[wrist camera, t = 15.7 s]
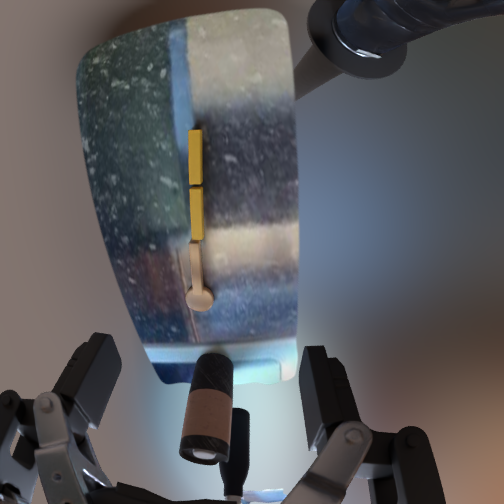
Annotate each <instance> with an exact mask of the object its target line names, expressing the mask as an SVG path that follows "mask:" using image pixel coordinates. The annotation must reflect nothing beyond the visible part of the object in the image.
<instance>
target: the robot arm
mask: <svg viewBox="0 0 504 504" xmlns="http://www.w3.org/2000/svg"><path fill="white" fill-rule="evenodd" d="M497 15H504V0H346V1H345V2H344V4H343V5H342V6H341V7H340V8H339V9H338V10H337V11H336V12H335V13H334V15H333V17H332V20H331V28H332V31H333V34H334V36H335V38H336V39H337V41H338V42H339V43H340V44H341V45H342V46H343V47H344V48H345V49H346V50H348V51H349V52H351V53H353V54H355V55H357V56H360V57H364V58H380V56H381V55H383V54H385V53H386V52H388V51H390V50H392V49H395V48H397V47H399V46H401V45H403V44H406V43H408V42H410V41H413V40H415V39H418V38H420V37H423V36H425V35H428V34H430V33H433V32H435V31H438V30H441V29H443V28H446V27H449V26H452V25H455V24H459V23H463V22H467V21H471V20H474V19H479V18H483V17H489V16H497ZM121 366H122V362H121V358H120V355H119V353H118V350H117V348H116V345H115V342H114V340H113V337H112V336H111V335H110V334H103V333H97V332H95V333H93V335H92V336H91V338H90V339H89V341H88V342H84V343H83V344H82V345H81V346H79V347H78V348H77V349H76V350H75V352H74V354H73V355H72V357H71V359H70V360H69V362H68V364H67V366H66V367H65V369H64V370H63V372H62V374H61V376H60V377H59V379H58V381H57V383H56V384H55V386H54V388H53V390H52V391H51V392H44V393H42V394H40V395H39V396H38V397H37V398H36V399H21V398H20V396H19V395H18V394H17V392H15V391H13V390H6V391H4V392H2V393H1V394H0V504H31V501H32V496H33V492H34V489H35V485H36V481H37V478H38V474H39V476H40V480H41V483H42V487H43V490H44V493H45V496H46V499H47V502H48V504H237V501H224V500H223V501H222V500H210V499H201V500H190V501H171V500H168V499H166V498H163V497H161V496H159V495H157V494H154V493H152V492H150V491H148V490H146V489H143V488H139V487H135V486H131V485H127V484H124V483H120V482H117V486H116V487H113V486H112V484H111V483H110V481H109V479H108V478H107V476H106V475H105V474H104V472H103V471H102V469H101V467H100V465H99V463H98V460H97V458H96V455H95V453H94V450H93V447H92V444H91V442H90V439H89V436H88V434H87V432H86V431H87V429H88V427H91V428H94V429H98V427H99V424H100V421H101V419H102V416H103V413H104V411H105V408H106V406H107V403H108V401H109V398H110V396H111V393H112V391H113V388H114V386H115V384H116V381H117V379H118V377H119V374H120V372H121ZM299 386H300V393H301V400H302V406H303V413H304V420H305V427H306V434H307V441H308V448H309V451H312V450H317V455H318V457H317V458H316V459H315V461H314V463H313V464H312V465H311V466H310V468H309V469H308V471H307V472H306V473H305V474H304V475H303V477H302V478H301V480H300V481H299V482H298V483H297V484H296V486H295V487H294V488H293V489H292V491H291V492H290V493H289V494H288V495H287V497H286V498H285V499H284V500H283V501H282V503H281V504H341V502H342V501H343V499H344V497H345V495H346V490H347V488H348V486H349V484H350V483H351V481H352V479H353V478H354V477H355V478H366V479H368V484H369V491H370V499H371V504H446V501H445V497H444V492H443V488H442V484H441V480H440V477H439V473H438V469H437V466H436V462H435V459H434V456H433V452H432V449H431V446H430V443H429V440H428V437H427V435H426V433H425V432H424V431H423V430H422V429H420V428H418V427H415V426H408V427H405V428H402V429H401V430H400V431H399V432H398V433H386V432H377V431H374V430H371V429H369V427H368V426H366V425H365V424H364V423H363V422H362V421H361V419H360V416H359V413H358V410H357V406H356V403H355V399H354V396H353V393H352V390H351V387H350V383H349V380H348V379H347V374H346V371H345V368H344V366H343V365H342V363H341V362H340V361H339V360H338V359H337V358H336V357H335V358H328V357H327V353H326V350H325V347H324V346H305V348H304V351H303V356H302V361H301V365H300V370H299ZM16 431H18V432H19V433H20V434H21V435H20V437H19V440H18V442H17V445H16V447H15V450H14V453H13V456H11V455H10V447H11V444H12V441H13V439H14V436H15V434H16Z"/></svg>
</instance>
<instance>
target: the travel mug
mask: <svg viewBox="0 0 504 504" xmlns="http://www.w3.org/2000/svg"><path fill="white" fill-rule="evenodd" d="M232 404H233V364H232V362H231V361H230V360H229V359H228V358H227V357H225V356H223V355H220V354H215V353H209V354H205V355H202V356H201V357H199V359H198V360H197V363H196V366H195V370H194V375H193V379H192V383H191V388H190V391H189V396H188V402H187V407H186V413H185V418H184V424H183V430H182V437H181V443H180V449H179V454H180V456H181V457H182V458H184V459H186V460H188V461H190V462H193V463H197V464H203V465H216V464H217V463H218V462H221V461H226V462H228V460H229V450H230V435H231V420H232Z"/></svg>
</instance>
